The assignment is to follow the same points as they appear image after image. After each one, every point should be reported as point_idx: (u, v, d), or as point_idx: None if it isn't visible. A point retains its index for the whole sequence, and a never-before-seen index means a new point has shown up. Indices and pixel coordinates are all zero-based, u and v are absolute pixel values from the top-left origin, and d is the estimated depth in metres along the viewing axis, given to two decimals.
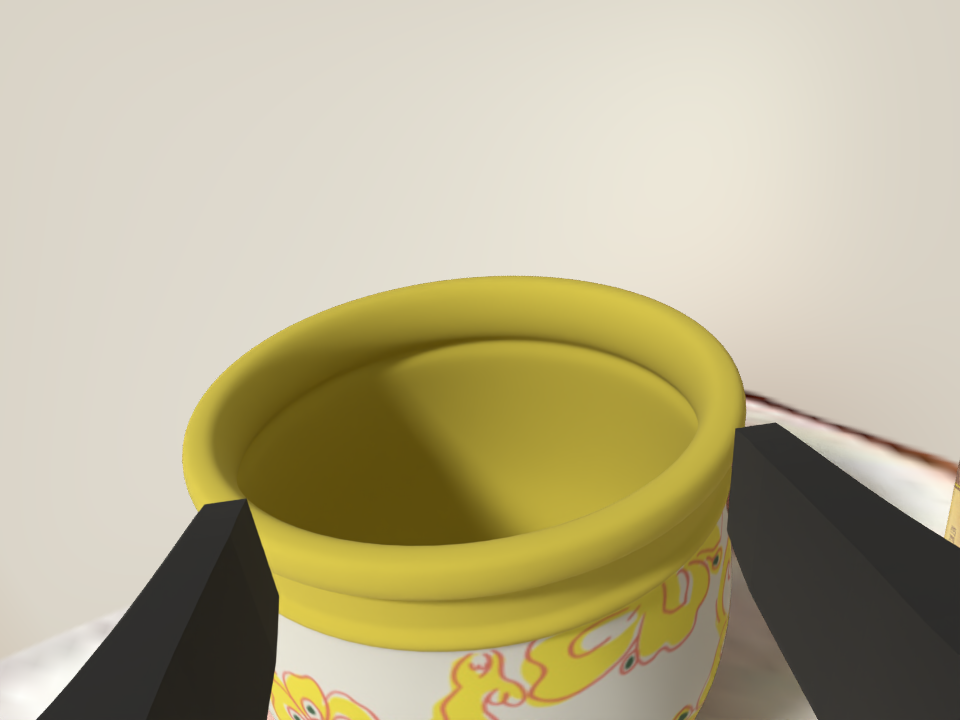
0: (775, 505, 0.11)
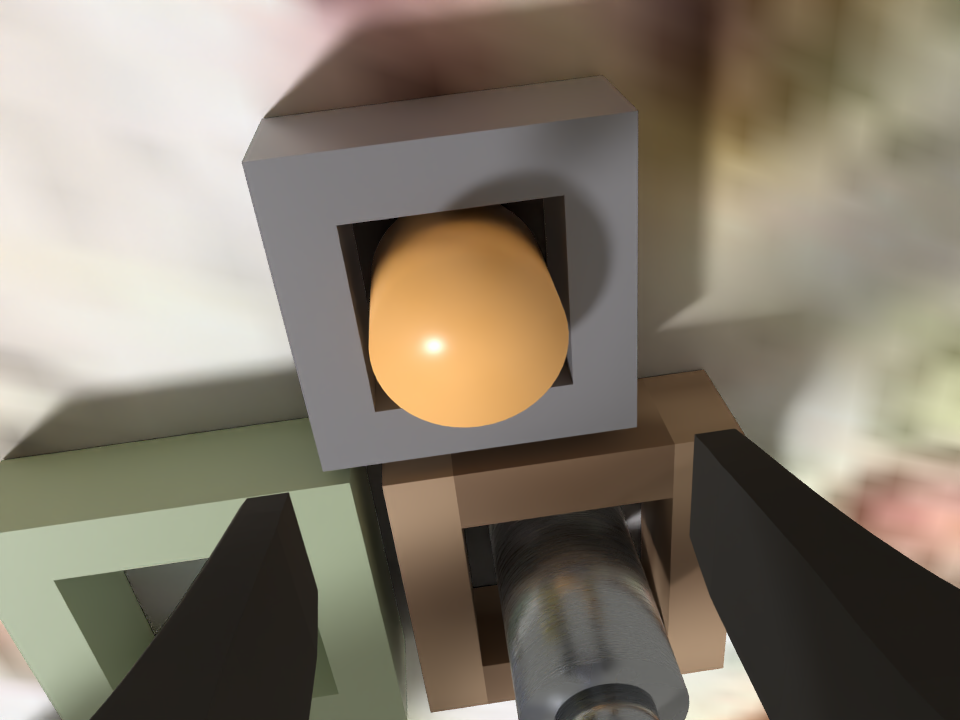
0: (730, 511, 0.11)
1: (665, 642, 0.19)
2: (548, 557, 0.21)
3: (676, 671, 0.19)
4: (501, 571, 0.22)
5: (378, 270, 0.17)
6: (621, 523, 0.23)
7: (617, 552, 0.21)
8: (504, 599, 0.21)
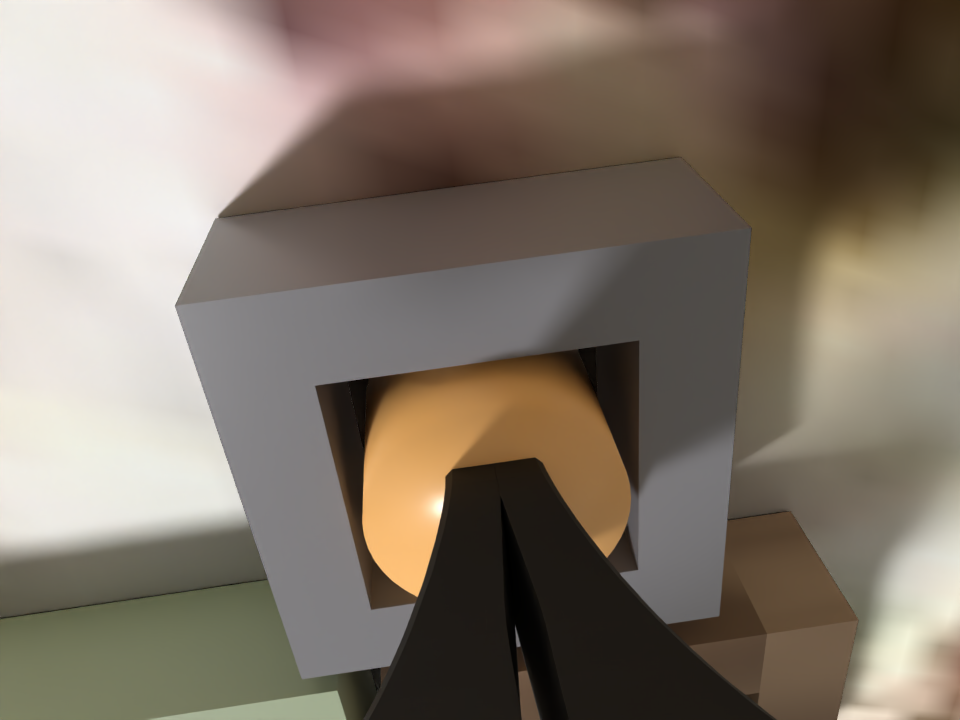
0: (510, 544, 0.11)
1: None
2: None
3: None
4: None
5: (375, 406, 0.13)
6: None
7: None
8: None
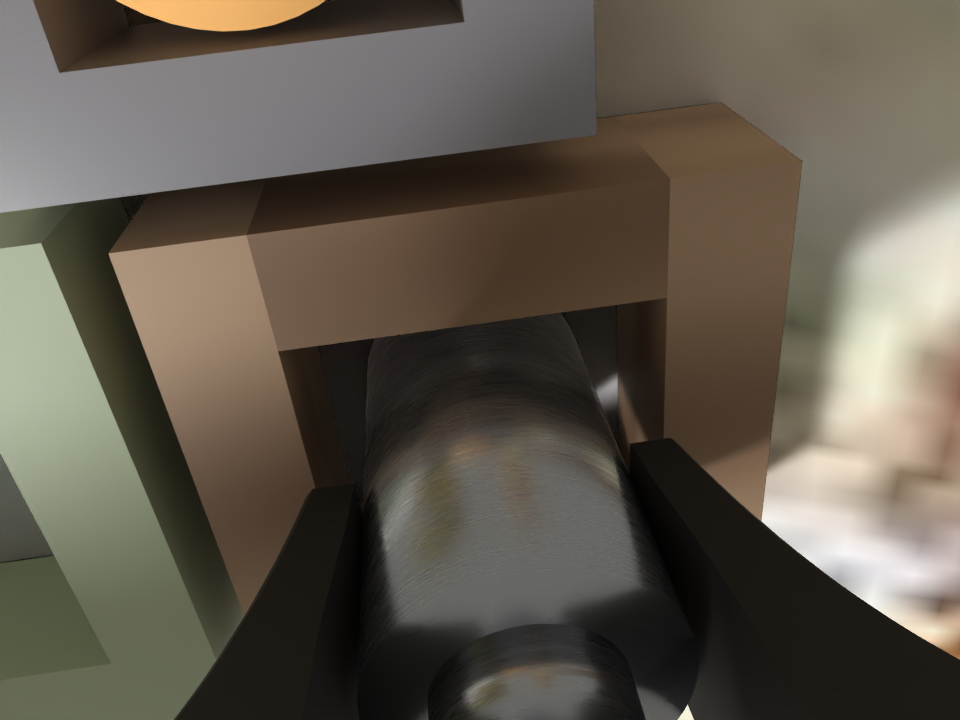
0: (659, 522, 0.11)
1: (651, 548, 0.10)
2: (438, 405, 0.11)
3: (673, 601, 0.09)
4: (366, 445, 0.13)
5: None
6: (579, 367, 0.13)
7: (566, 400, 0.12)
8: (364, 488, 0.12)
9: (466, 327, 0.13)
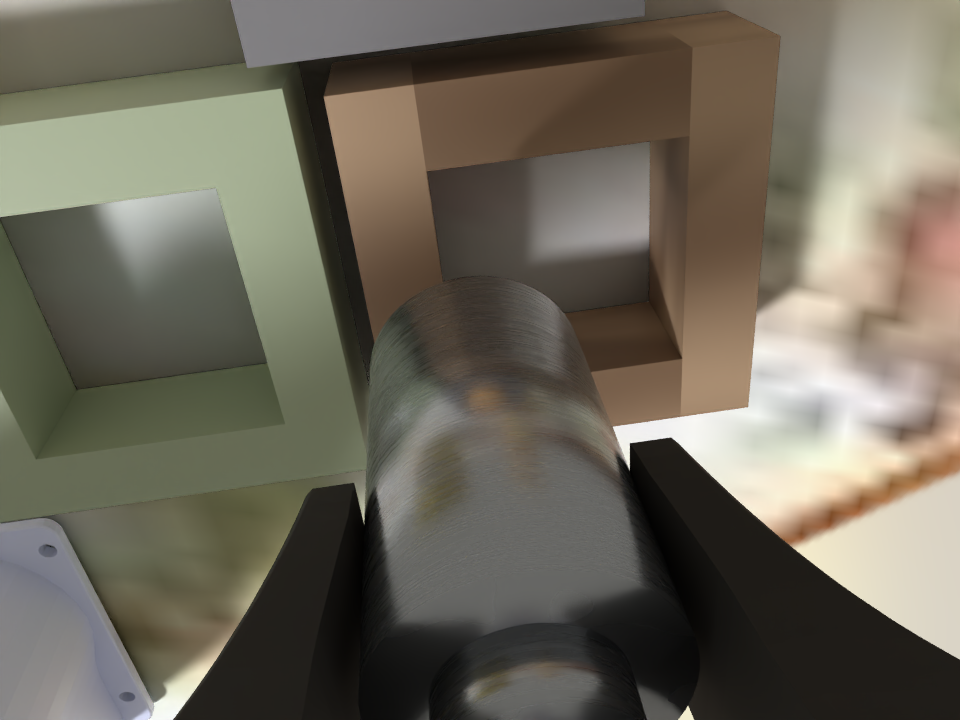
0: (659, 522, 0.11)
1: (652, 548, 0.10)
2: (440, 404, 0.11)
3: (674, 600, 0.09)
4: (368, 444, 0.13)
5: None
6: (581, 366, 0.13)
7: (568, 400, 0.12)
8: (366, 487, 0.12)
9: (468, 326, 0.13)
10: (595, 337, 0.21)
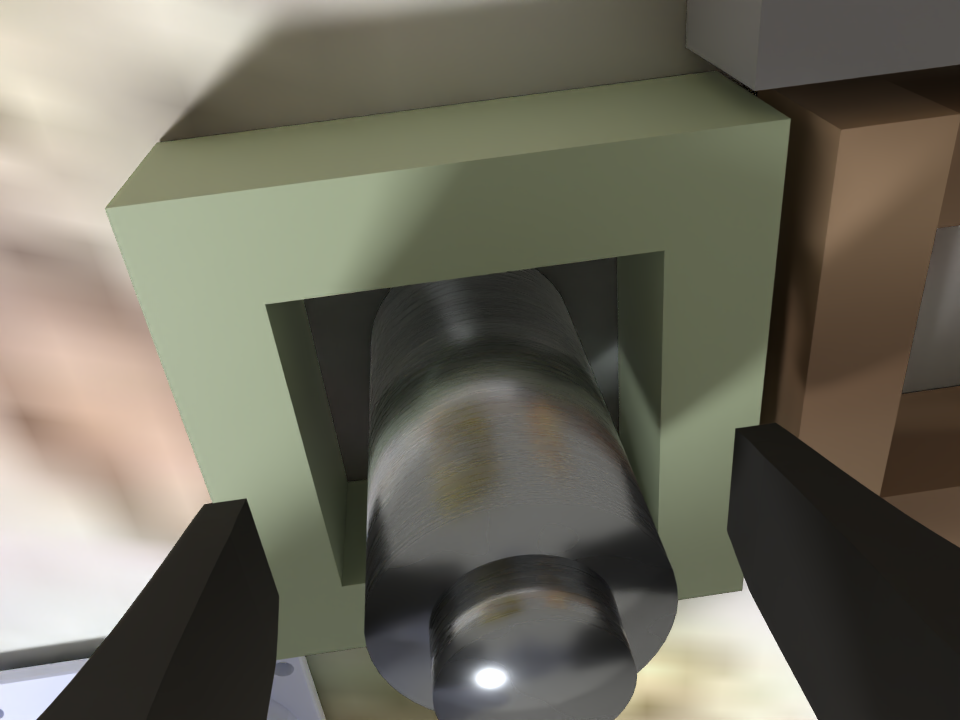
0: (775, 505, 0.11)
1: (634, 490, 0.11)
2: (438, 364, 0.12)
3: (653, 534, 0.10)
4: (371, 406, 0.13)
5: None
6: (570, 333, 0.14)
7: (557, 360, 0.12)
8: (369, 444, 0.13)
9: (463, 295, 0.14)
10: None
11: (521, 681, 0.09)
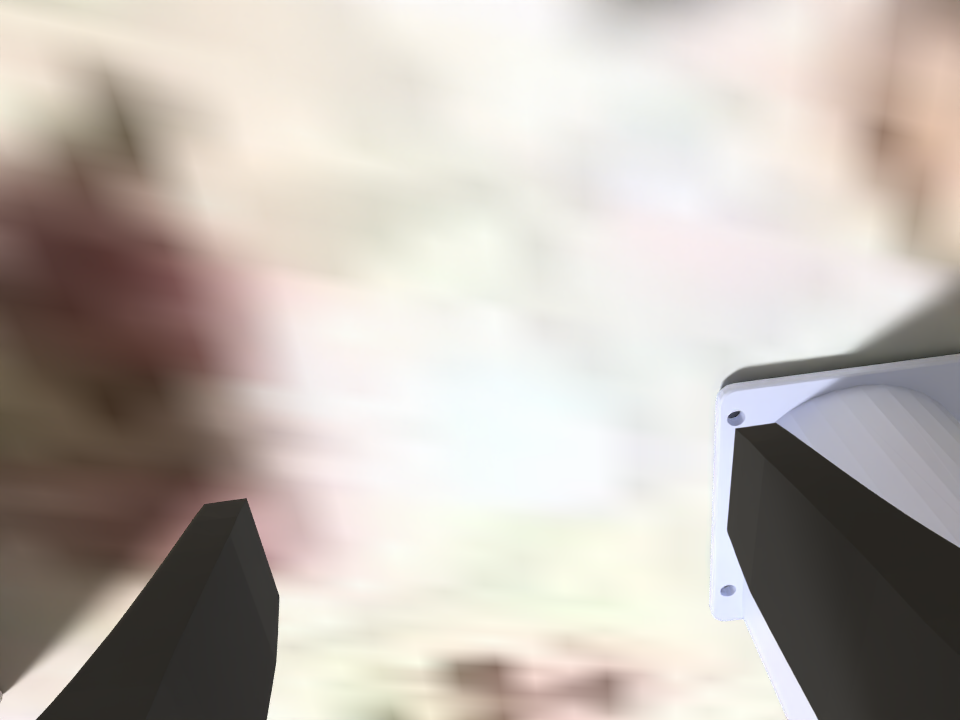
0: (775, 505, 0.11)
1: None
2: None
3: None
4: None
5: None
6: None
7: None
8: None
9: None
10: None
11: None
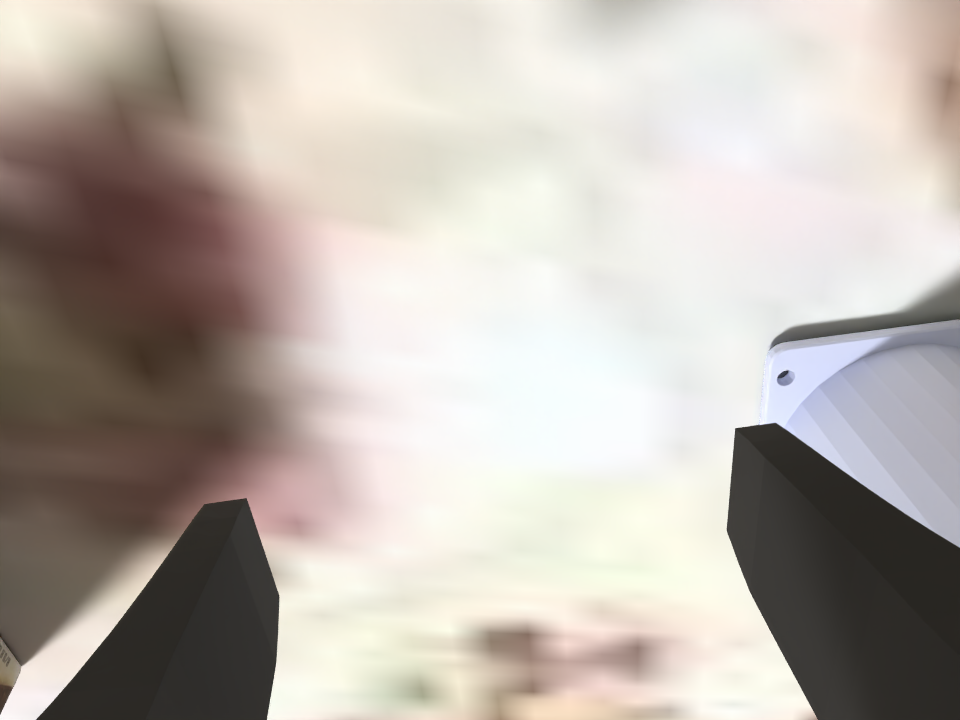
0: (775, 505, 0.11)
1: None
2: None
3: None
4: None
5: None
6: None
7: None
8: None
9: None
10: None
11: None
